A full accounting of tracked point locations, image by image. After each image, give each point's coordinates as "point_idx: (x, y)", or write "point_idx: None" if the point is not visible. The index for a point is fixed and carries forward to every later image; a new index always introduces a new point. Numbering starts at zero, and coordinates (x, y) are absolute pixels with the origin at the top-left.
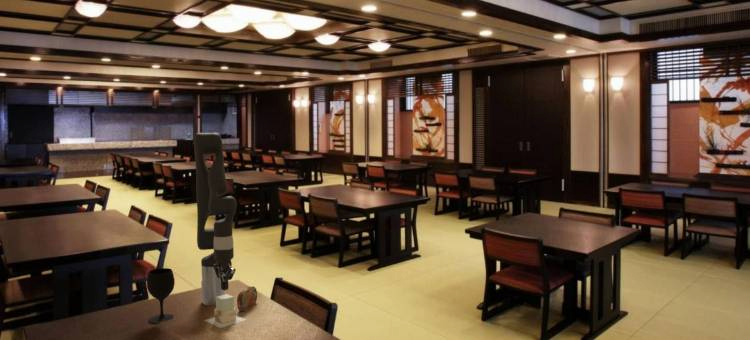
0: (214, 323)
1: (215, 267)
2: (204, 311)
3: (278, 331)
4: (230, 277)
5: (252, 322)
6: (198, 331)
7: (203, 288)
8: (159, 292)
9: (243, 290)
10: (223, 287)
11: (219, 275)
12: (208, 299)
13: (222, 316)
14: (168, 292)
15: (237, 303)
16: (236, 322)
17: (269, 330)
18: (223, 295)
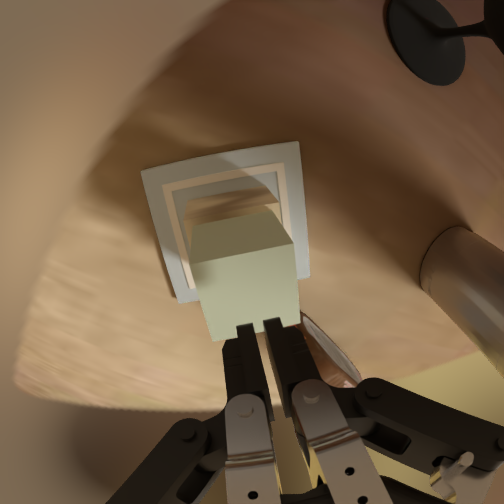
0: (219, 166)
1: (467, 454)
2: (408, 200)
3: (38, 334)
4: (196, 468)
5: (152, 309)
6: (185, 72)
7: (498, 255)
8: None
9: (348, 385)
10: (238, 343)
11: (344, 423)
12: (453, 247)
13: (188, 211)
14: (499, 21)
15: (301, 327)
16: (167, 257)
17: (52, 320)
18: (285, 298)
